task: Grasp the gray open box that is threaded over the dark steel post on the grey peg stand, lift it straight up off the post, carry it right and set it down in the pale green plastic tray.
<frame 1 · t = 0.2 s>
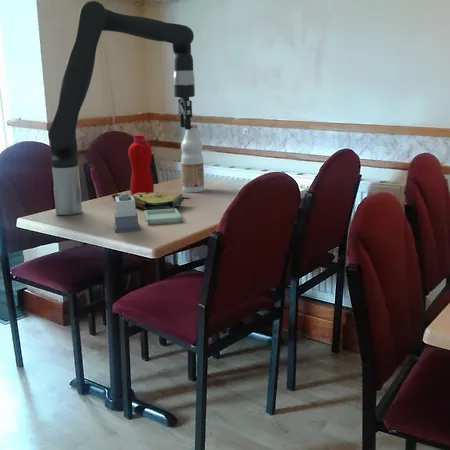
hand: (185, 128, 213), 29 cm above the table, fingers open, 8 cm apart
gray open box: (125, 213, 187), point 5 cm above the table, touching grey peg stand
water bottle: (144, 194, 241), on the table
tray: (162, 218, 200), on the table
grey peg stand: (126, 228, 188), on the table
fruit juice: (193, 191, 246), on the table
pulley block: (147, 207, 218), on the table, touching tray
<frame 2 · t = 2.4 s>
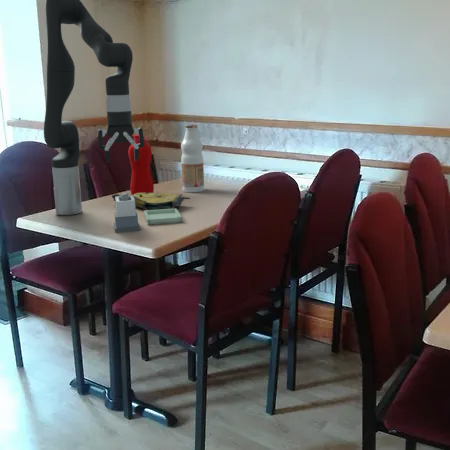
hand: (122, 161, 183), 22 cm above the table, fingers open, 8 cm apart
nothing on the table moved.
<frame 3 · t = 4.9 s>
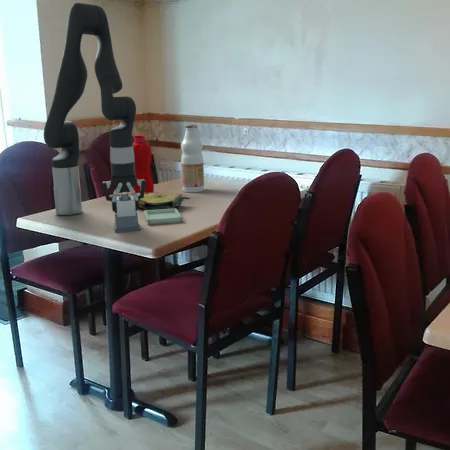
hand: (125, 211, 187), 6 cm above the table, fingers closed on gray open box, 5 cm apart
gray open box: (125, 213, 187), point 5 cm above the table, touching gripper, grey peg stand
everything else where it was.
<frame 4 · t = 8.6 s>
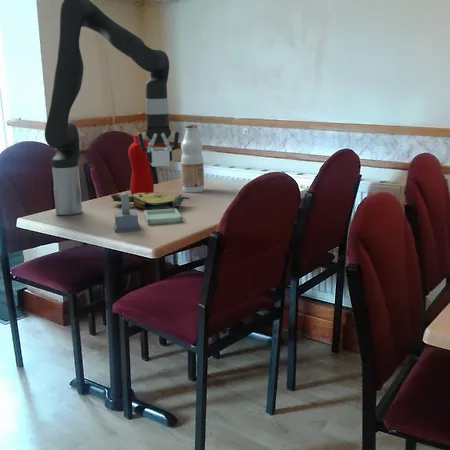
hand: (159, 162, 195), 20 cm above the table, fingers closed on gray open box, 5 cm apart
gray open box: (159, 164, 195), point 19 cm above the table, touching gripper
everything else where it was.
when the fingers open (3 cm above the table, at t = 12.5 s): gray open box drops 1 cm, resting on tray.
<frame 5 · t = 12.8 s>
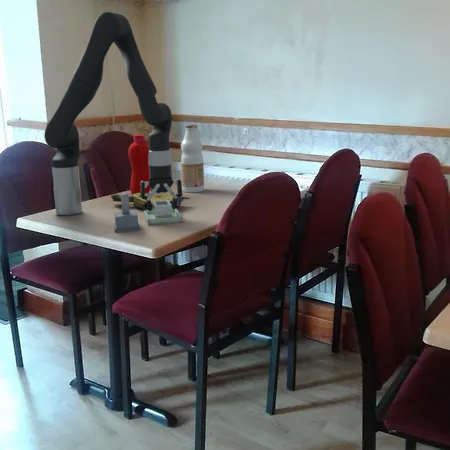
hand: (162, 209, 199), 3 cm above the table, fingers open, 8 cm apart
gray open box: (162, 217, 199), point 1 cm above the table, touching tray
everything else where it was.
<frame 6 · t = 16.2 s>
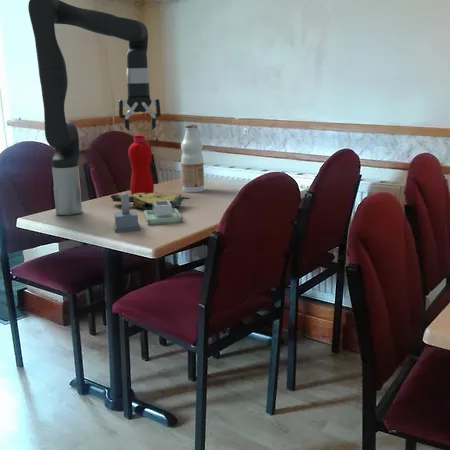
hand: (140, 129, 200), 30 cm above the table, fingers open, 8 cm apart
nothing on the table moved.
at the end: gray open box inside the target area on the tray (0.1 cm from its centre), point 0.6 cm above the tray's base; gray open box touching tray; the gripper is holding nothing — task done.
